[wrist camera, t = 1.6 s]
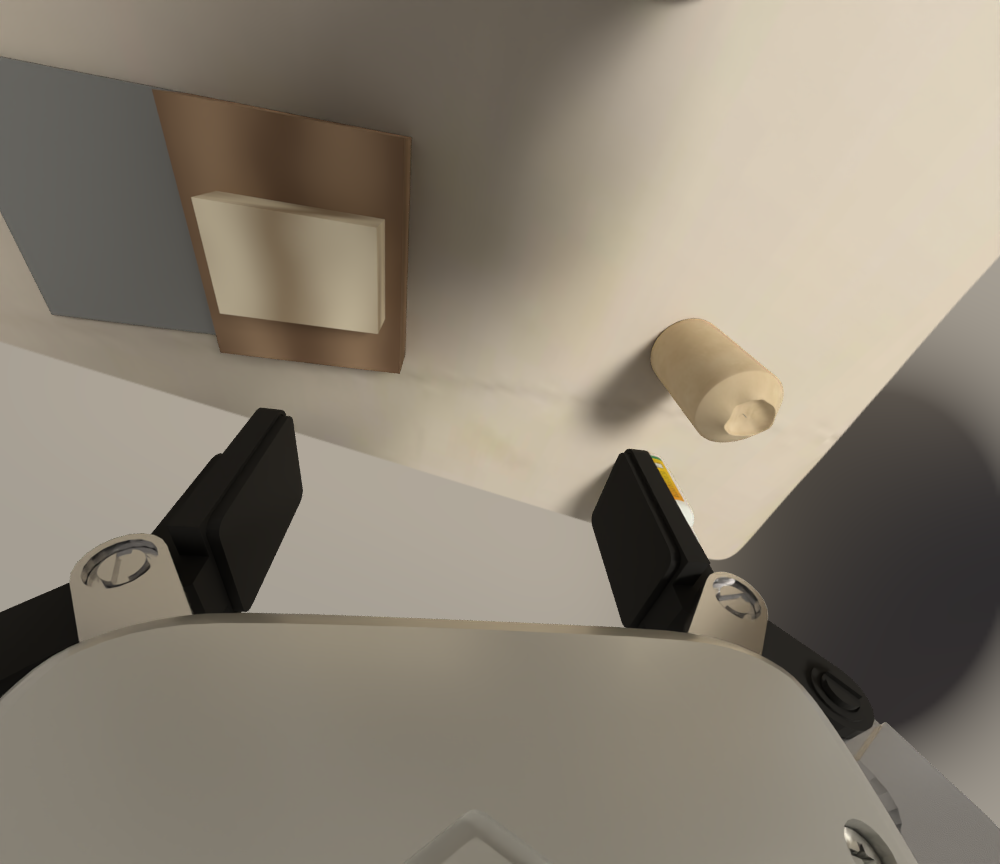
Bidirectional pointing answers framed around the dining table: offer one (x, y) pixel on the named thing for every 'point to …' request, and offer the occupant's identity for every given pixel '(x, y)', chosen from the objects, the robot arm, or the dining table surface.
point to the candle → (715, 381)
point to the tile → (293, 261)
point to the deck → (303, 181)
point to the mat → (96, 199)
